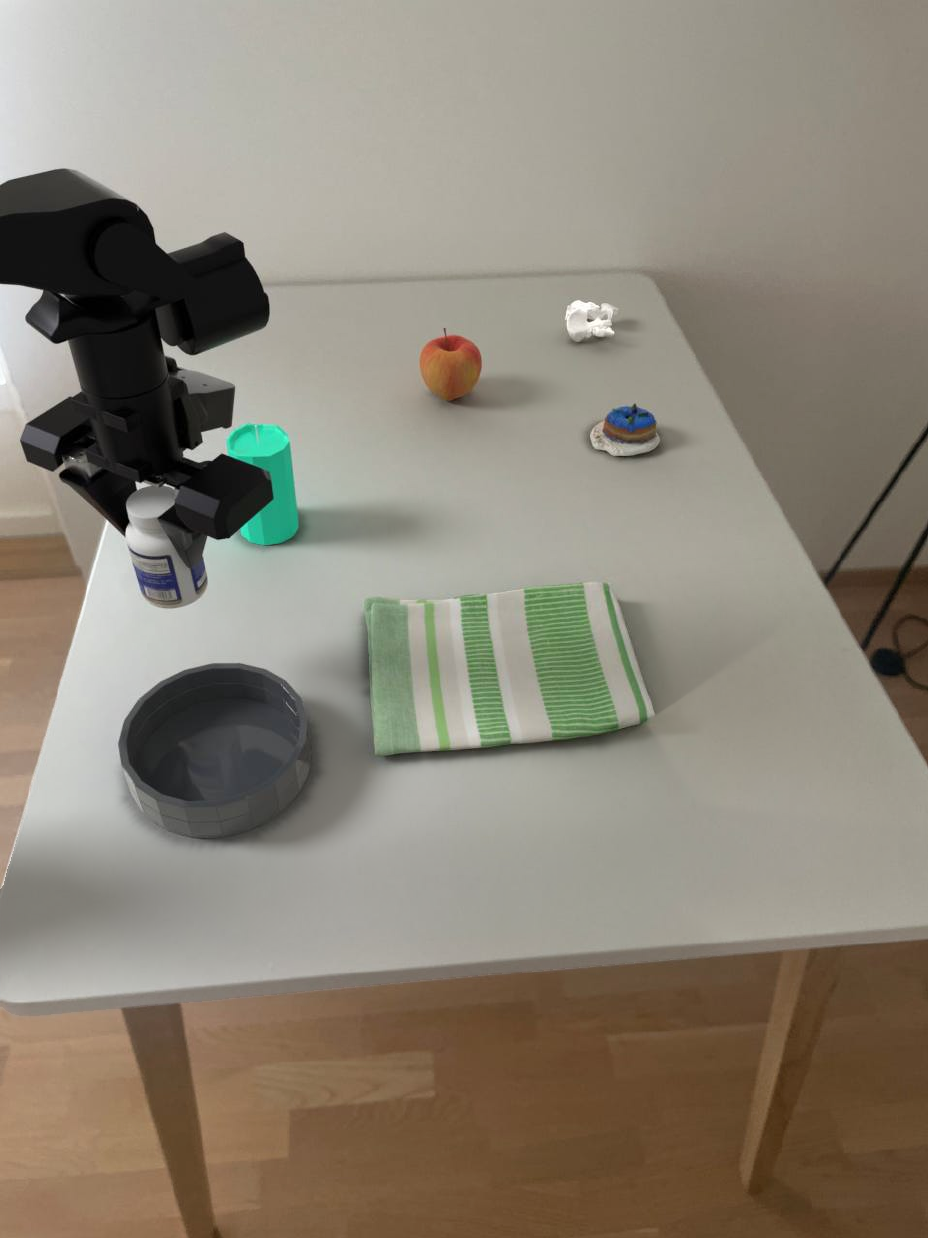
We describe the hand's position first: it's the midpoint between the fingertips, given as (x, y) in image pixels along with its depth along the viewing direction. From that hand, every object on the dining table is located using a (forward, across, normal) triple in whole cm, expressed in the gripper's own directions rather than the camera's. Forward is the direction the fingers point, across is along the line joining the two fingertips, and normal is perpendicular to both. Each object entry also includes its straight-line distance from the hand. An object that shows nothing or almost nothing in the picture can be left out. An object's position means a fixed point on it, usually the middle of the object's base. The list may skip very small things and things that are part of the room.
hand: (166, 553), depth 76 cm
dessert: (+13, -19, -53) cm, 58 cm away
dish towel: (+13, -24, -13) cm, 30 cm away
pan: (+13, -9, +7) cm, 17 cm away
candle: (+13, +6, -19) cm, 24 cm away
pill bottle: (+4, 0, 0) cm, 4 cm away
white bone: (+14, -6, -74) cm, 75 cm away
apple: (+13, +2, -50) cm, 52 cm away
